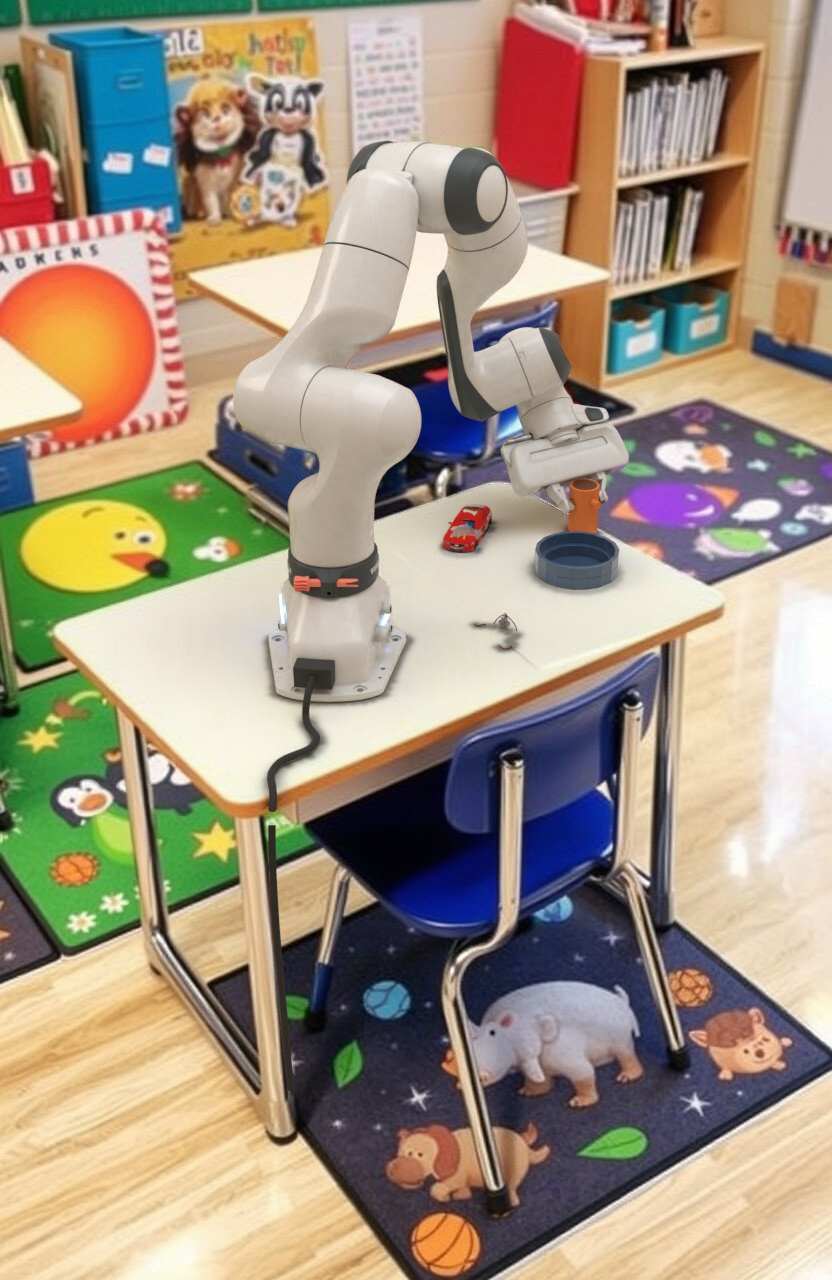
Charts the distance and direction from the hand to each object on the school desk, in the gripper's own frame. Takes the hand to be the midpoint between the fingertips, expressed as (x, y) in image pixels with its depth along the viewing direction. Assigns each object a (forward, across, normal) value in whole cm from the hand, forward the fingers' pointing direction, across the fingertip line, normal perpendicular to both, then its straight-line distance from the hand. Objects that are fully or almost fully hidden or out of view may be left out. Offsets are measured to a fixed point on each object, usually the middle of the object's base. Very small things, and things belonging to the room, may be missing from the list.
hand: (586, 507), depth 216 cm
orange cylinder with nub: (+3, 0, +4) cm, 4 cm away
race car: (-2, -16, +9) cm, 19 cm away
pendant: (+17, -28, -11) cm, 35 cm away
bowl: (+10, -9, -4) cm, 14 cm away
